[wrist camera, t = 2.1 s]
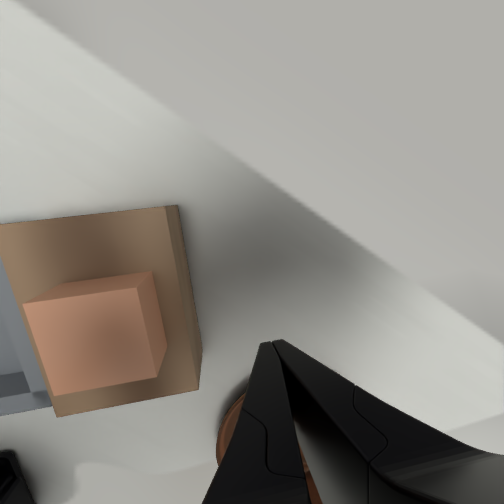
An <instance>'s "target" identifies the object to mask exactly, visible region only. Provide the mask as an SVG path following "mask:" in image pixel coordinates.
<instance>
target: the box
mask: <svg viewBox="0 0 504 504" xmlns="http://www.w3.org/2000/svg"><path fill="white" fill-rule="evenodd" d="M51 406H53V405H52V402H51V400H50V397H49V394H48V391H47V388H46V385H45V382H44V380H43V377H42V374H41V371H40V368H39V365H38V362H37V359H36V357H35V354H34V351H33V348H32V345H31V342H30V339H29V337H28V334H27V331H26V328H25V325H24V322H23V319H22V317H21V314H20V311H19V308H18V305H17V302H16V299H15V296H14V294H13V291H12V288H11V285H10V282H9V279H8V276H7V274H6V271H5V268H4V265H3V262H2V259H1V256H0V416H4V415H9V414H14V413H19V412H25V411H30V410H35V409H40V408H46V407H51Z"/></svg>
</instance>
